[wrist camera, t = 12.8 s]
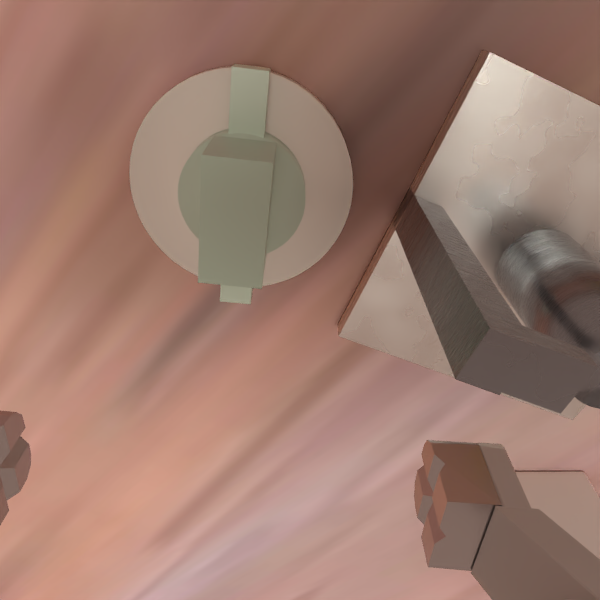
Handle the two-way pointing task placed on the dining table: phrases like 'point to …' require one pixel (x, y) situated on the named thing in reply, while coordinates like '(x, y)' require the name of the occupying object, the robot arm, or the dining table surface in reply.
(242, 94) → the pale green disc-and-bar piece
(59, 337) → the dining table surface
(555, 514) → the milk
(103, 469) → the dining table surface
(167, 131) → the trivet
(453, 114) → the twin post base plate
